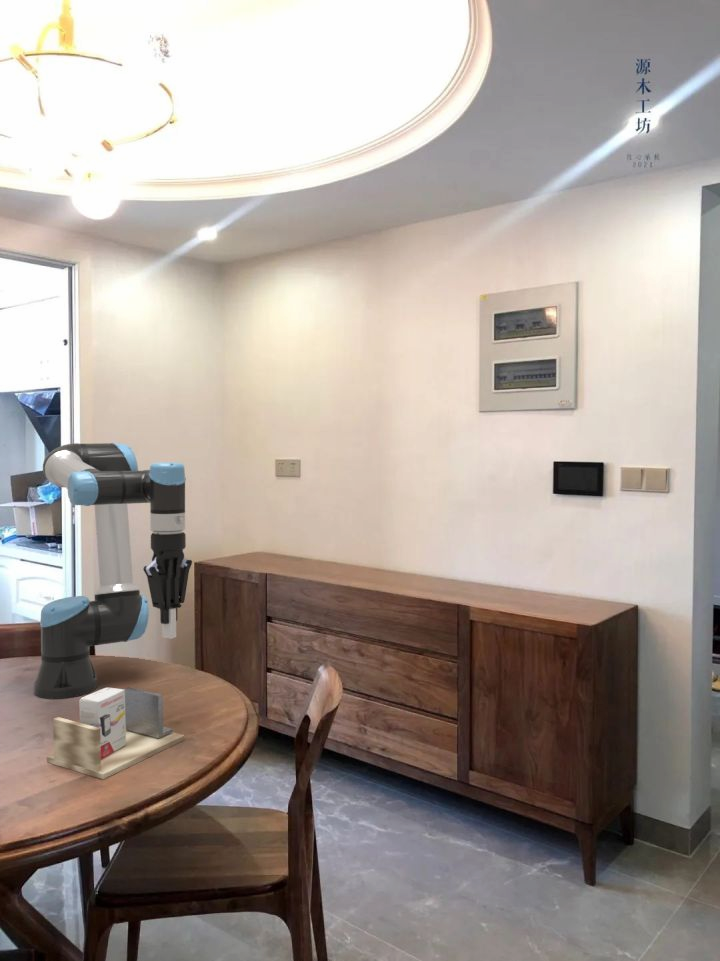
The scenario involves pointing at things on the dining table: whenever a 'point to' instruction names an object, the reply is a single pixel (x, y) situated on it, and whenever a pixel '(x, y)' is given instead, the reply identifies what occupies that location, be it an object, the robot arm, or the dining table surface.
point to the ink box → (106, 717)
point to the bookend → (144, 713)
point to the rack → (83, 748)
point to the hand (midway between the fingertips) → (169, 637)
